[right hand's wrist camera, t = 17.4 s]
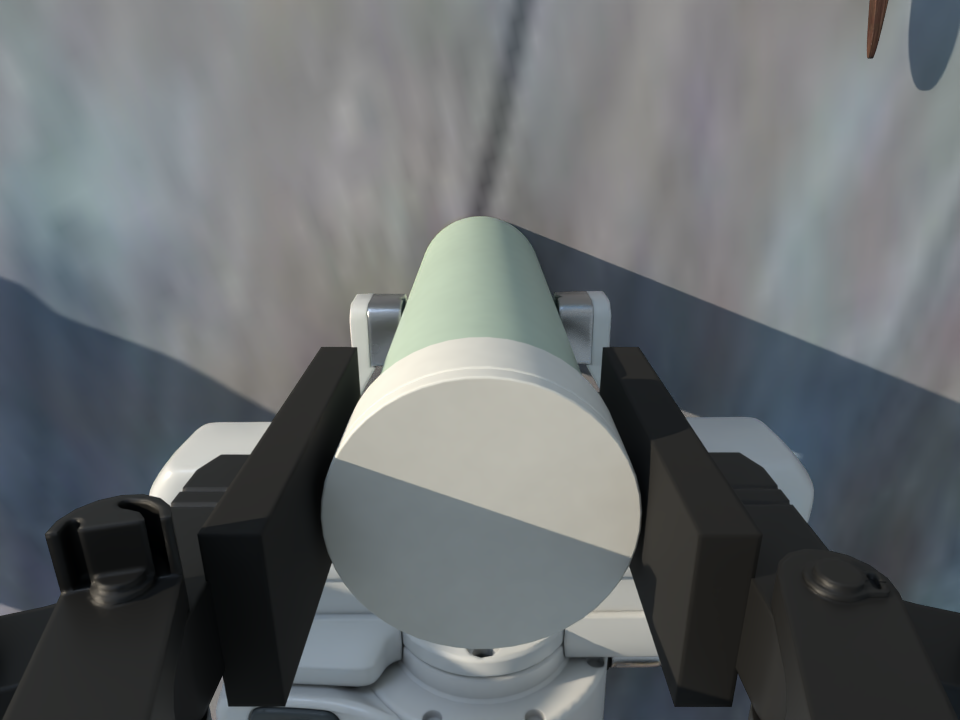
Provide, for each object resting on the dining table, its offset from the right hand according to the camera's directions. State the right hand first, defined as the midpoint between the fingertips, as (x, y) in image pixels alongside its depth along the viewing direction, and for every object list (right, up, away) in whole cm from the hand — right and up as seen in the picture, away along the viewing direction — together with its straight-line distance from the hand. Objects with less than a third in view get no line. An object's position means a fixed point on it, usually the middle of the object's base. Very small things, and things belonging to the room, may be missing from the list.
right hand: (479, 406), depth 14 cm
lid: (0, -1, -4) cm, 4 cm away
